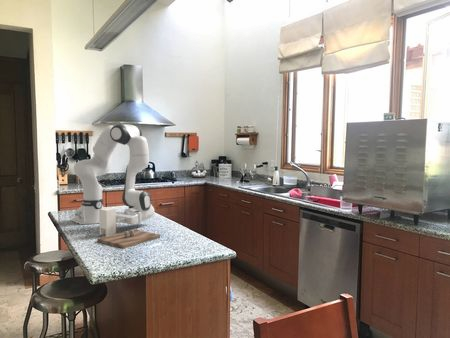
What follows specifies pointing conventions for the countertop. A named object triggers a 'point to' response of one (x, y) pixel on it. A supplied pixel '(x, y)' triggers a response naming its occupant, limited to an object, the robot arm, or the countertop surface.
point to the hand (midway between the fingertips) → (110, 220)
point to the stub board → (128, 238)
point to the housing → (107, 221)
